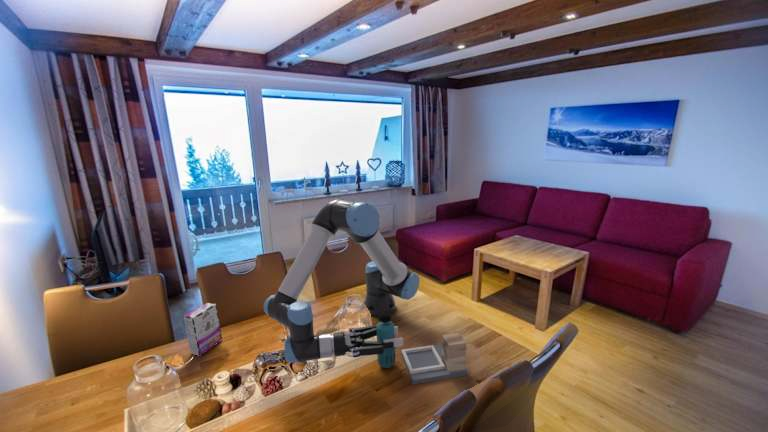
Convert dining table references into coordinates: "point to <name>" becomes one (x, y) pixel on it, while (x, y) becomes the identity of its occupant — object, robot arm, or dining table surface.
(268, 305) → the robot arm
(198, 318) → the candy bar box
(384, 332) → the beverage bottle
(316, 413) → the dining table surface
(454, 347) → the wooden pillar
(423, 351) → the board
